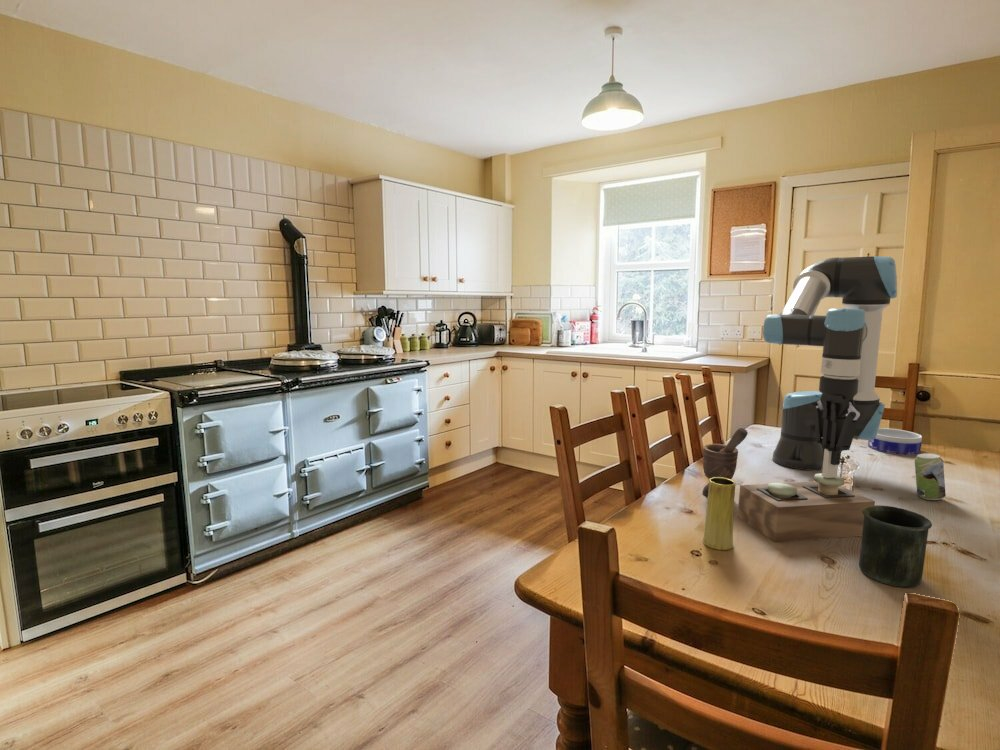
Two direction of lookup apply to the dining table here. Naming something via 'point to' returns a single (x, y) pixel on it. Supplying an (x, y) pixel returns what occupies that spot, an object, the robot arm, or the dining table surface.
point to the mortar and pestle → (722, 458)
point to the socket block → (803, 512)
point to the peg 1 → (782, 490)
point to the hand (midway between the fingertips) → (829, 476)
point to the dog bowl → (896, 442)
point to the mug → (893, 545)
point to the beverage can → (930, 476)
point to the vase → (719, 514)
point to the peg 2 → (828, 484)
